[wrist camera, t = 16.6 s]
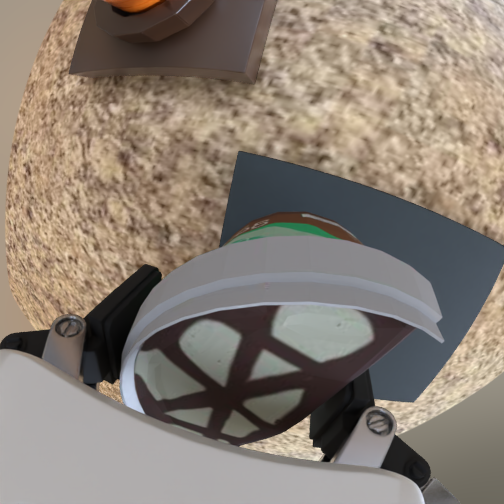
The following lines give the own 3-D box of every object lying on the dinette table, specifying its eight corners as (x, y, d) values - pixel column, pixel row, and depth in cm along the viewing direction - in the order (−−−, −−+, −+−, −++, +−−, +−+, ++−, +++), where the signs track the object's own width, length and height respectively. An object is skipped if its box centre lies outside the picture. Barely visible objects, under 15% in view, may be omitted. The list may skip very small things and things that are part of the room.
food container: (275, 137, 13) (228, 124, 4) (368, 211, 14) (461, 325, 5) (166, 298, 18) (83, 410, 9) (240, 348, 19) (200, 476, 9)
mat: (202, 355, 21) (200, 359, 21) (239, 150, 15) (238, 151, 14) (412, 399, 20) (413, 402, 19) (507, 247, 13) (509, 249, 13)
